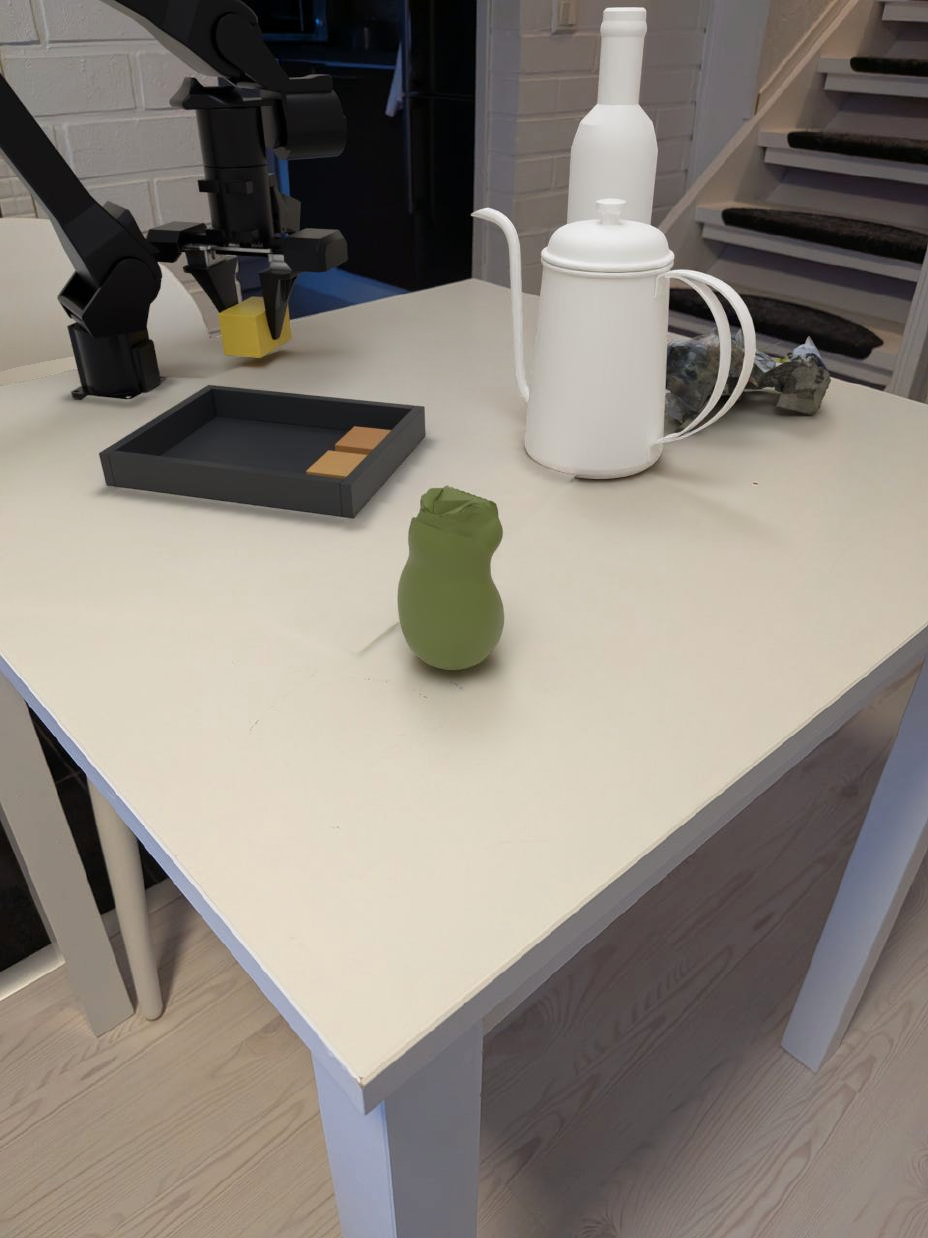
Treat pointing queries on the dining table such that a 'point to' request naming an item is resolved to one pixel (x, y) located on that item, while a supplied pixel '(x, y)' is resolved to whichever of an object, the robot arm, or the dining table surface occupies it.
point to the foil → (699, 365)
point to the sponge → (250, 329)
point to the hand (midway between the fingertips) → (257, 337)
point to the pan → (263, 449)
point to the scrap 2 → (361, 440)
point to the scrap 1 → (335, 464)
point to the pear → (451, 580)
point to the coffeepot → (607, 344)
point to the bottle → (615, 128)
